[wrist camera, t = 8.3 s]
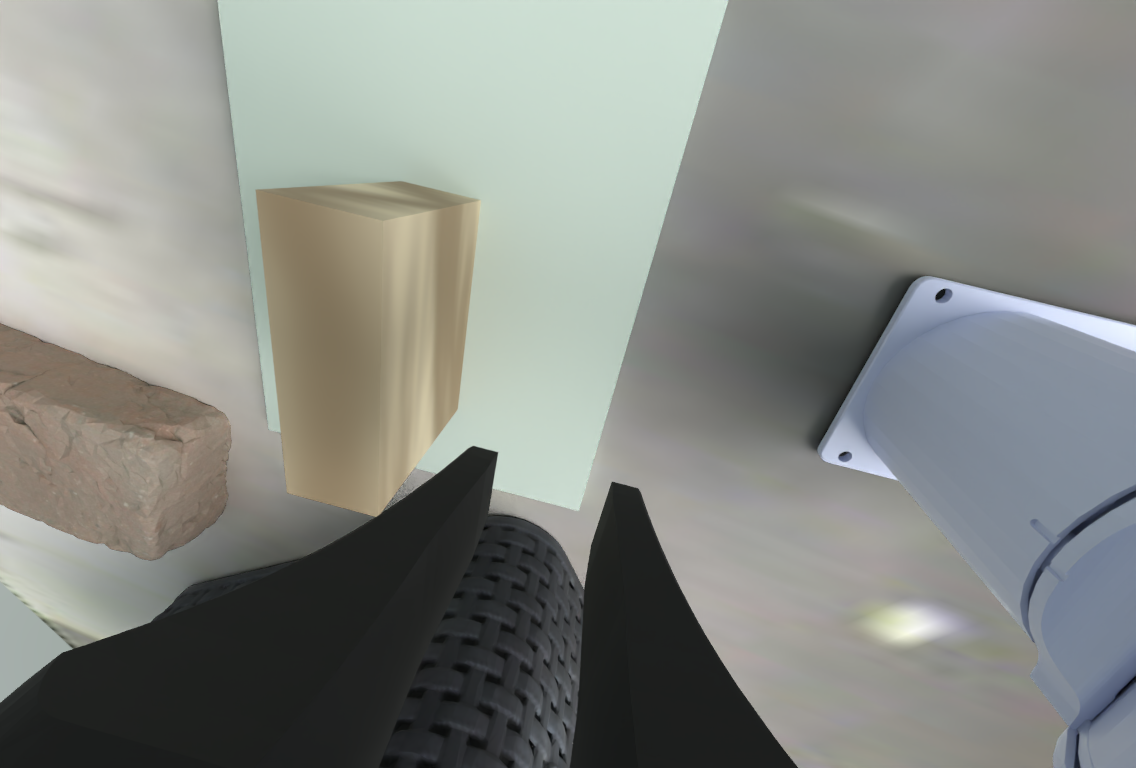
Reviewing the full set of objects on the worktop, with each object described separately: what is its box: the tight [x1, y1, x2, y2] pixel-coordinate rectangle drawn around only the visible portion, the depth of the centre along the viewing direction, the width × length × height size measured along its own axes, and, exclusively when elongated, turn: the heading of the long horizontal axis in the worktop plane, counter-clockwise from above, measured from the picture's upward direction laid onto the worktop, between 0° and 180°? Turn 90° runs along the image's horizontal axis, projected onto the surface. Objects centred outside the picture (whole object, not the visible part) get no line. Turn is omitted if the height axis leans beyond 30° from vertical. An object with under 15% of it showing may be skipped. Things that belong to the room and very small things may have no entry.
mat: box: [217, 0, 728, 511], centre depth 18 cm, size 16×20×1 cm
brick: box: [0, 324, 231, 561], centre depth 23 cm, size 17×8×5 cm, turn 69°
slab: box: [256, 181, 481, 517], centre depth 15 cm, size 3×9×7 cm, turn 168°
